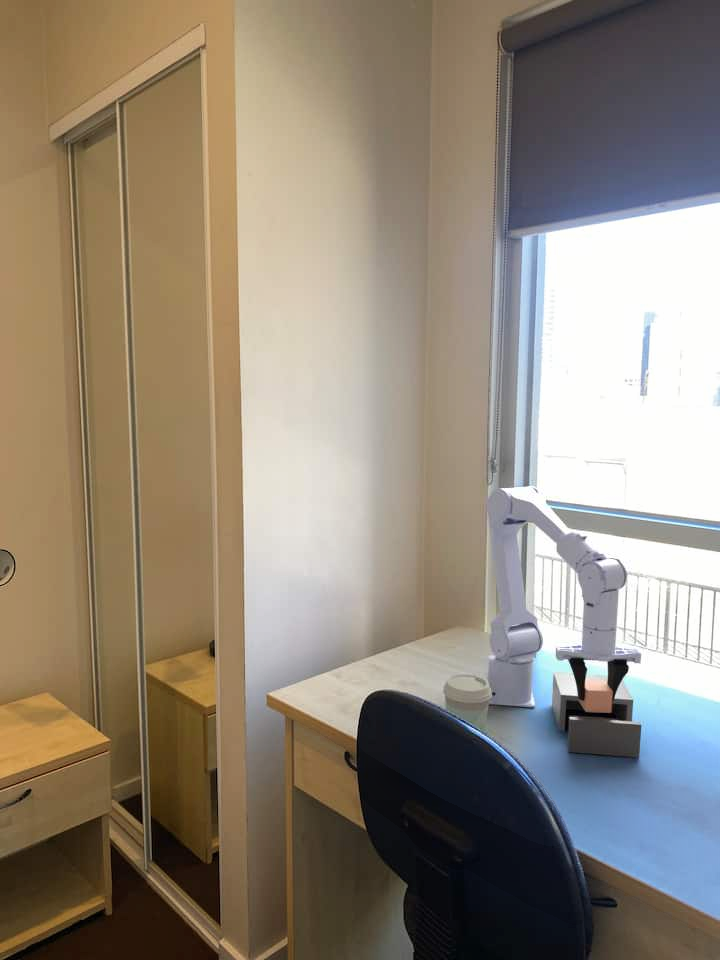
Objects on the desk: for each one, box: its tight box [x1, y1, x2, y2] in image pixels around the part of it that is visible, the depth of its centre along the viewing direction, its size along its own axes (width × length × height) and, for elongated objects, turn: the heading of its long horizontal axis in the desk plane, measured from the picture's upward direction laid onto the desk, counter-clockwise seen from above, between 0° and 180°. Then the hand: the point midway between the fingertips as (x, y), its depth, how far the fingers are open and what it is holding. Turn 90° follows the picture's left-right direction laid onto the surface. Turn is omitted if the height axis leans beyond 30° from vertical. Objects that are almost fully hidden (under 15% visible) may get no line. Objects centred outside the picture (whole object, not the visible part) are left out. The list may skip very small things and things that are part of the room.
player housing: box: [551, 671, 634, 732], centre depth 139 cm, size 13×11×7 cm
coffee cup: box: [442, 673, 492, 733], centre depth 128 cm, size 8×8×12 cm
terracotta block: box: [579, 680, 613, 714], centre depth 129 cm, size 4×4×4 cm
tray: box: [567, 714, 642, 758], centre depth 131 cm, size 12×11×6 cm
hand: (595, 698), depth 129 cm, fingers closed on terracotta block, 4 cm apart
